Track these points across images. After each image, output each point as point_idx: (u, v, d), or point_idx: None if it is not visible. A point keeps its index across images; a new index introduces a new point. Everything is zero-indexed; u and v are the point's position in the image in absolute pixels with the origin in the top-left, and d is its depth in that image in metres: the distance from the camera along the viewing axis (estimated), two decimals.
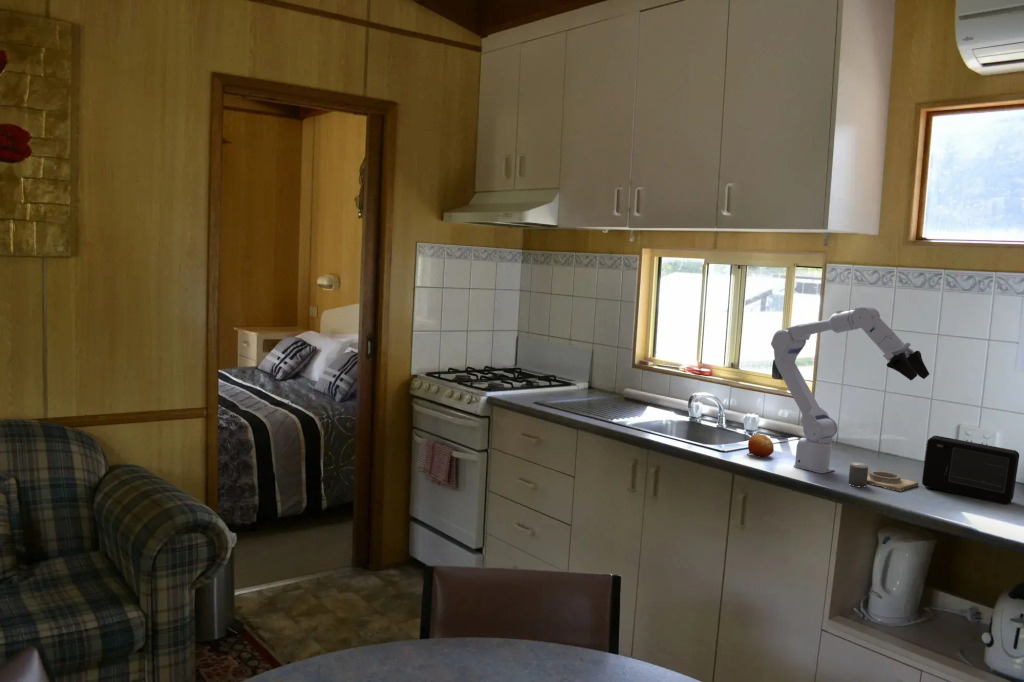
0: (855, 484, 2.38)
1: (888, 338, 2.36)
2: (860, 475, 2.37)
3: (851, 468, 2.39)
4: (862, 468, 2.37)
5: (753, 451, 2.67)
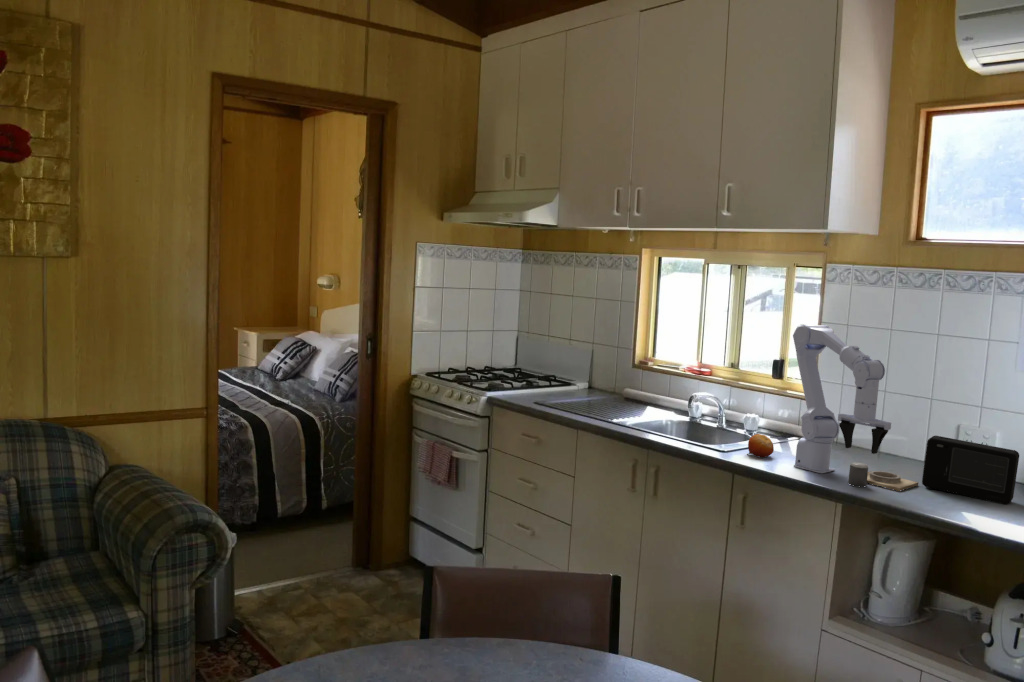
0: (855, 484, 2.38)
1: None
2: (860, 475, 2.37)
3: (851, 468, 2.39)
4: (862, 468, 2.37)
5: (753, 451, 2.67)
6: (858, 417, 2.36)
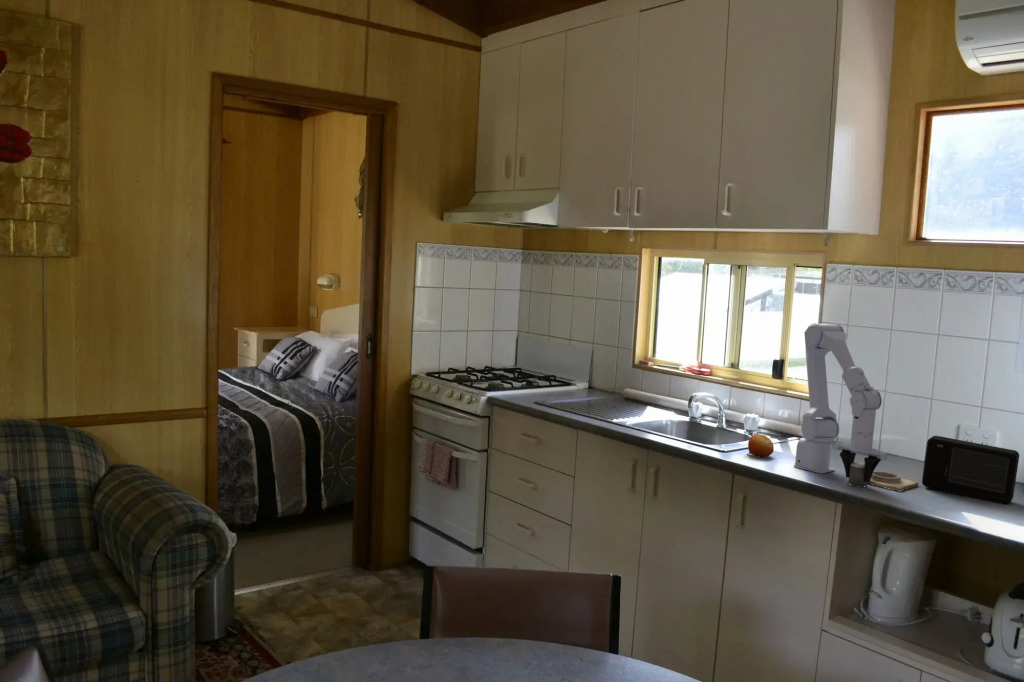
0: (855, 484, 2.38)
1: (851, 433, 2.39)
2: (860, 475, 2.37)
3: (851, 468, 2.39)
4: (862, 468, 2.37)
5: (753, 451, 2.67)
6: (855, 446, 2.37)
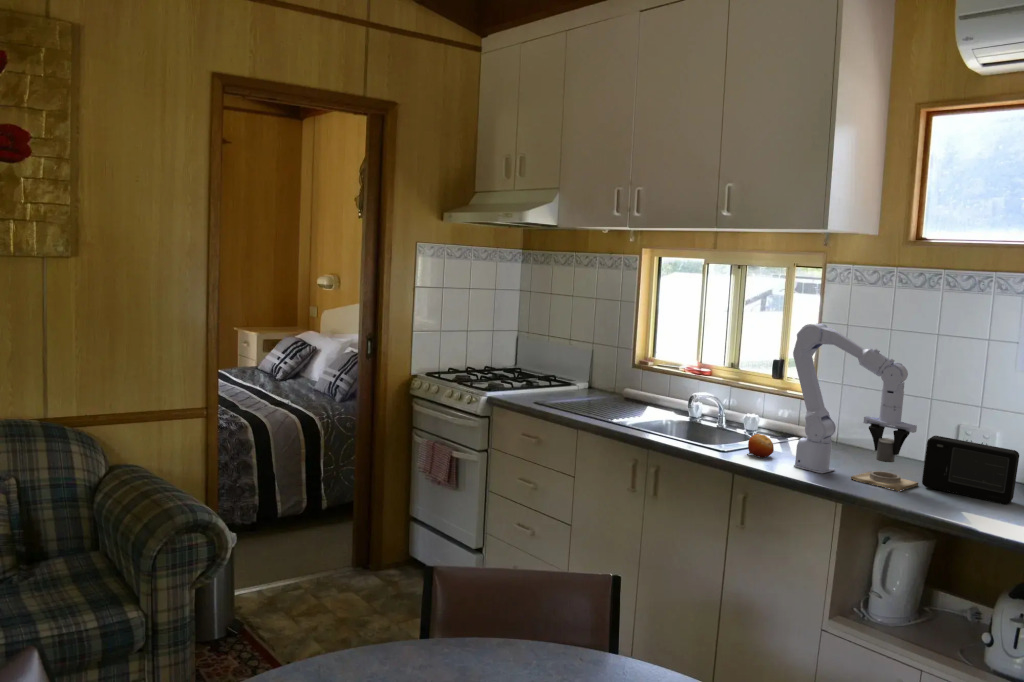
0: (883, 459, 2.41)
1: (880, 406, 2.42)
2: (887, 450, 2.40)
3: (879, 443, 2.42)
4: (889, 443, 2.40)
5: (753, 451, 2.67)
6: (884, 420, 2.40)
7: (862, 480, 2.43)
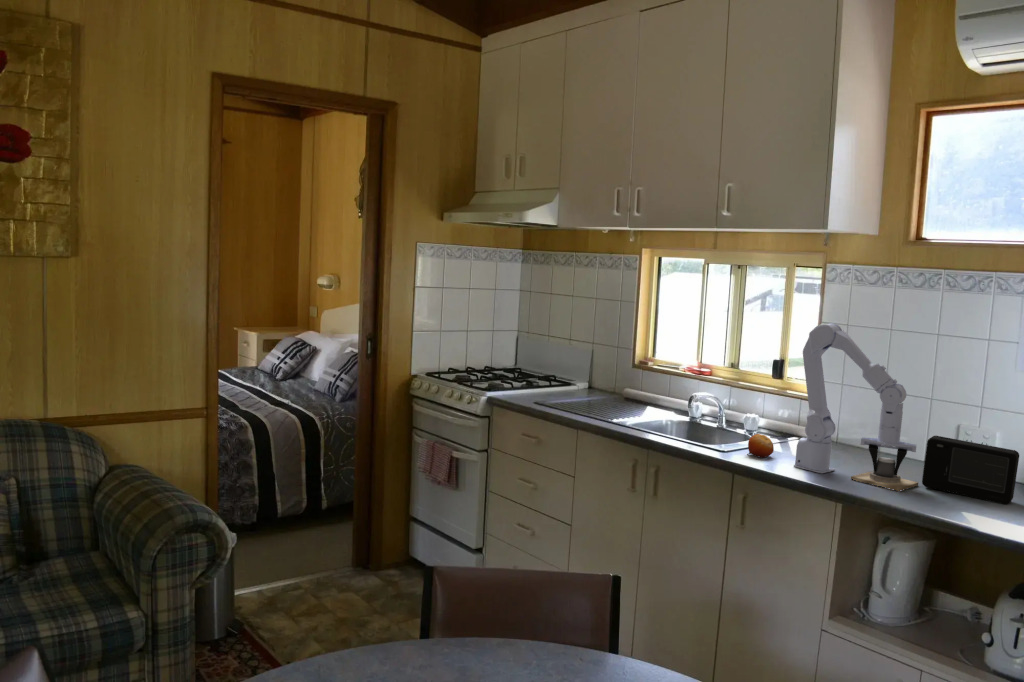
0: None
1: (881, 427, 2.42)
2: (890, 470, 2.41)
3: (880, 463, 2.42)
4: (892, 463, 2.41)
5: (753, 451, 2.67)
6: (887, 441, 2.40)
7: (862, 480, 2.43)
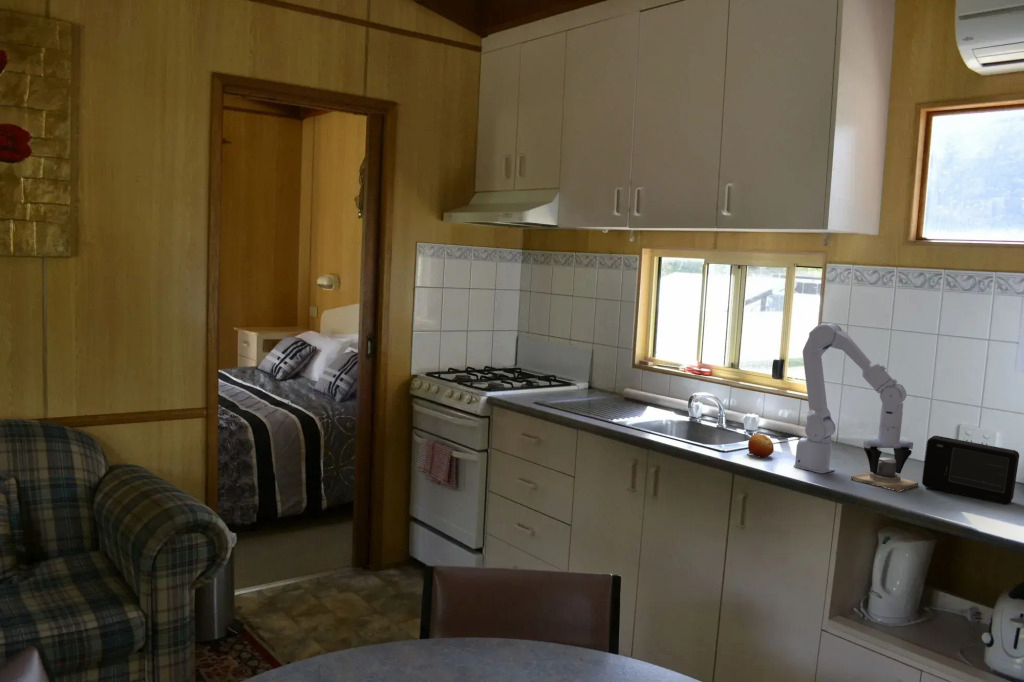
0: None
1: (886, 429, 2.40)
2: (895, 470, 2.41)
3: (887, 465, 2.41)
4: (895, 463, 2.41)
5: (753, 451, 2.67)
6: (893, 442, 2.40)
7: (862, 480, 2.43)
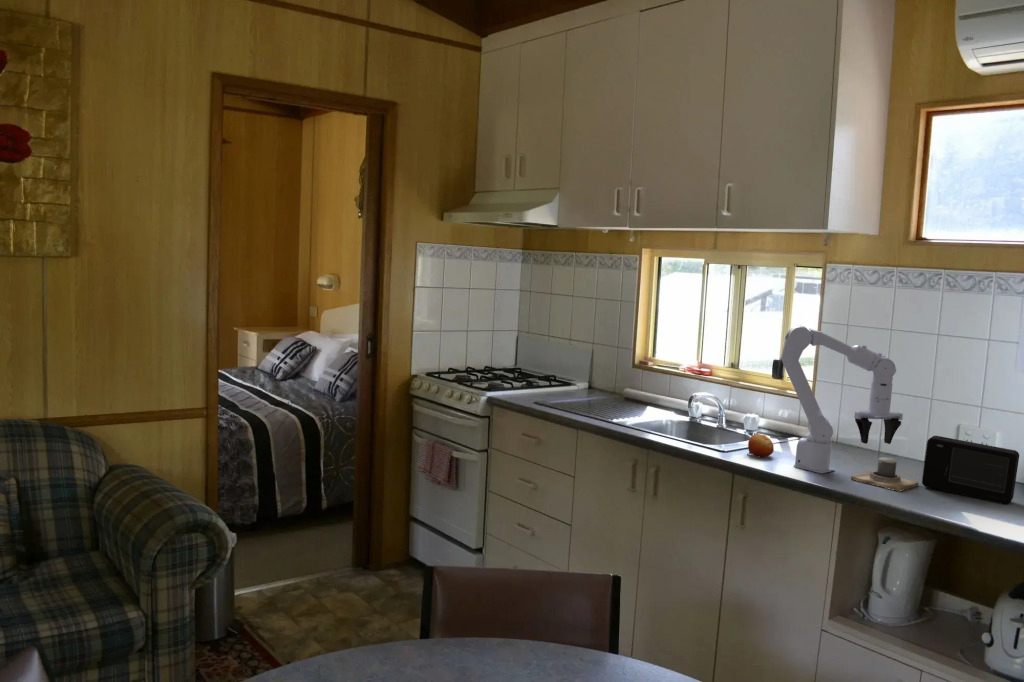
0: None
1: (876, 400, 2.48)
2: (895, 470, 2.41)
3: (887, 465, 2.41)
4: (896, 463, 2.41)
5: (753, 451, 2.67)
6: (883, 413, 2.47)
7: (862, 480, 2.43)
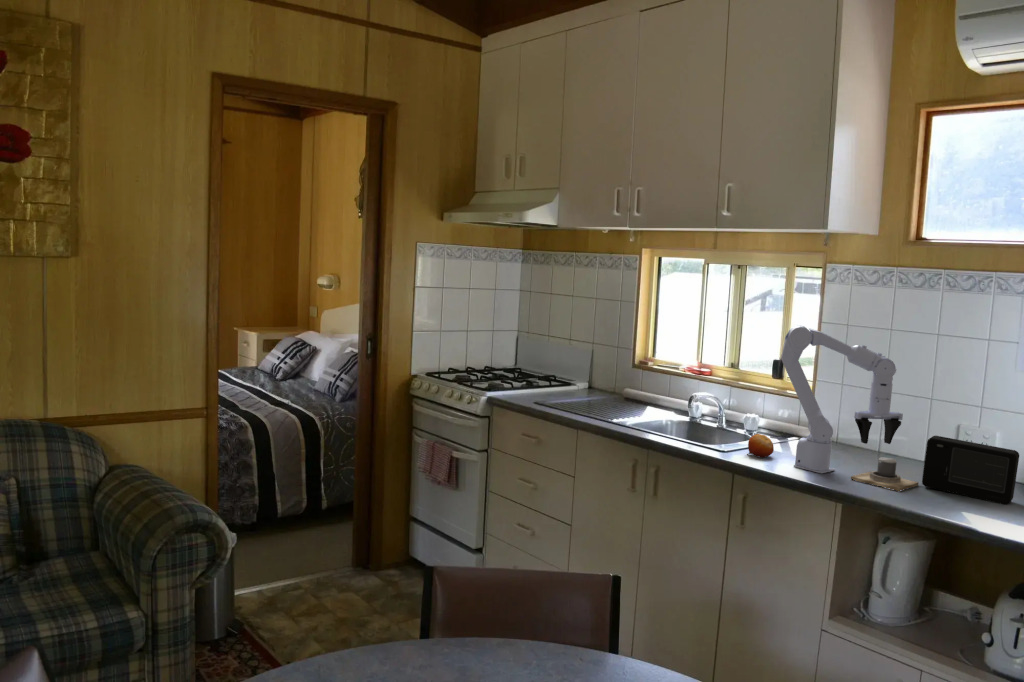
0: None
1: (876, 400, 2.48)
2: (895, 470, 2.41)
3: (887, 465, 2.41)
4: (895, 463, 2.41)
5: (753, 451, 2.67)
6: (883, 413, 2.47)
7: (862, 480, 2.43)
